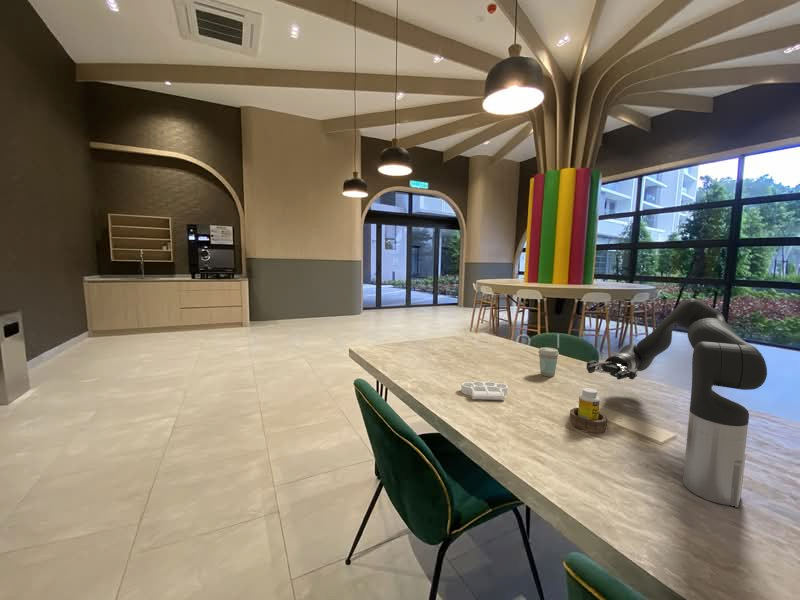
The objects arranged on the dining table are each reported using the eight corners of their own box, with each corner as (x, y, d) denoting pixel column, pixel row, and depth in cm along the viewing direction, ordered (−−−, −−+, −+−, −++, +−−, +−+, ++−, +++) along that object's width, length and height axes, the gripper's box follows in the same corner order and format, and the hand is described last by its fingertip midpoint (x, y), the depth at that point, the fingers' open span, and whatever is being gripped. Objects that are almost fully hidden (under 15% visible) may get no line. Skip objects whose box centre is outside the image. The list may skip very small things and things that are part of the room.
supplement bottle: (592, 427, 101) (595, 394, 100) (574, 420, 105) (576, 389, 104) (601, 422, 104) (603, 390, 103) (583, 416, 108) (584, 385, 108)
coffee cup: (539, 370, 159) (540, 346, 158) (558, 373, 155) (559, 348, 153) (536, 375, 152) (537, 350, 150) (556, 379, 147) (558, 352, 146)
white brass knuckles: (463, 401, 124) (459, 387, 138) (513, 403, 123) (504, 388, 137) (464, 392, 124) (460, 379, 138) (513, 394, 122) (504, 380, 137)
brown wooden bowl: (611, 426, 104) (612, 415, 103) (598, 436, 97) (599, 425, 97) (577, 415, 111) (578, 405, 111) (564, 424, 105) (564, 413, 105)
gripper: (599, 350, 125) (581, 357, 115) (644, 358, 114) (629, 367, 104) (598, 370, 126) (580, 378, 116) (643, 379, 115) (627, 390, 105)
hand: (603, 373), depth 110 cm, fingers open, 8 cm apart
